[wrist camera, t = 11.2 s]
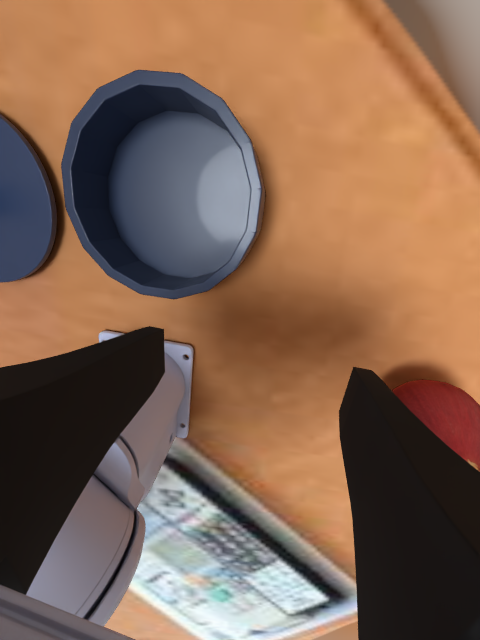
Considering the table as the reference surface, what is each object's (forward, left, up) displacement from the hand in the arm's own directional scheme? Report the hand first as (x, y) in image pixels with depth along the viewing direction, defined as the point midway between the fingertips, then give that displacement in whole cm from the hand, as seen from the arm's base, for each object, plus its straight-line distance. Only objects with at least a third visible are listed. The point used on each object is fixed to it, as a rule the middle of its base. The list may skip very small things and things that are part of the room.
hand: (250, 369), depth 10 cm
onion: (-6, -12, -11) cm, 17 cm away
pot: (+6, +7, -11) cm, 14 cm away
